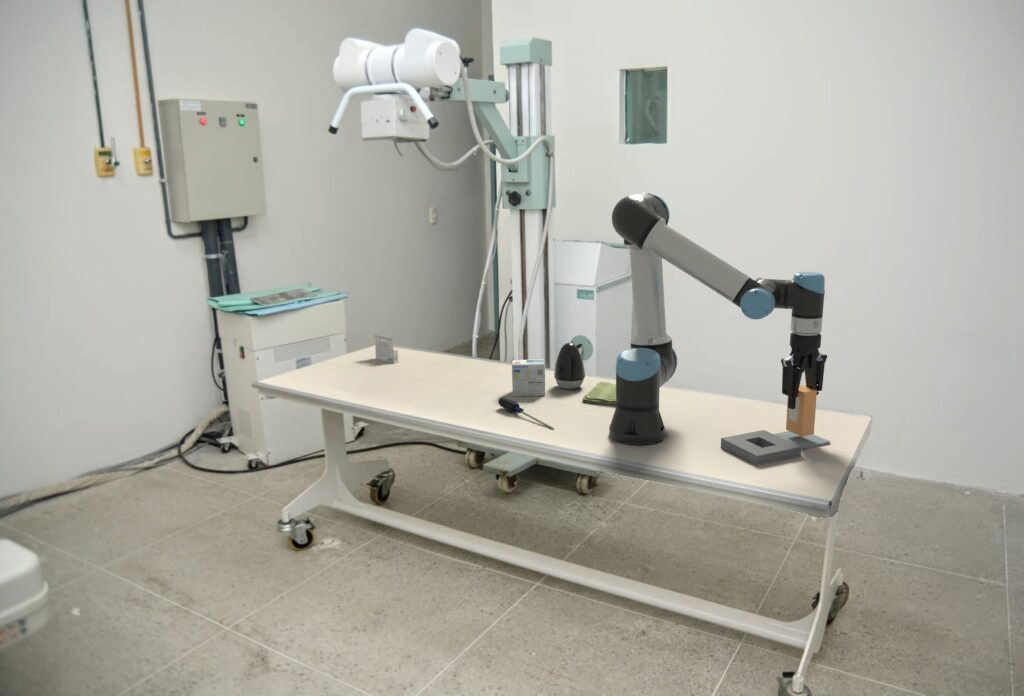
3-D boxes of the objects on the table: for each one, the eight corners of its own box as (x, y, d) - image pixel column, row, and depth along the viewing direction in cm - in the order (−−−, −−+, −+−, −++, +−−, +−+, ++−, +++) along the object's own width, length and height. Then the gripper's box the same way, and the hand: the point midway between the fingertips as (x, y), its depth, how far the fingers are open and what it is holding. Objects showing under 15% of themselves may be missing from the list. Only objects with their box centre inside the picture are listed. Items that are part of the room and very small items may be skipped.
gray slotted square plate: (756, 465, 194) (756, 455, 194) (720, 447, 207) (721, 438, 206) (800, 456, 199) (801, 446, 199) (763, 438, 212) (763, 429, 211)
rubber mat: (797, 450, 203) (797, 448, 203) (768, 437, 213) (768, 434, 213) (830, 443, 208) (830, 441, 207) (800, 430, 217) (800, 428, 217)
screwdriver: (559, 428, 224) (559, 416, 223) (549, 431, 222) (548, 418, 221) (506, 406, 244) (505, 395, 244) (496, 409, 242) (496, 397, 241)
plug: (802, 436, 206) (804, 392, 203) (785, 429, 212) (788, 386, 209) (813, 434, 208) (816, 390, 205) (797, 427, 213) (800, 384, 210)
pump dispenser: (591, 387, 262) (591, 343, 258) (567, 393, 256) (567, 348, 253) (572, 381, 270) (572, 337, 266) (548, 386, 264) (547, 342, 261)
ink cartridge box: (380, 358, 308) (378, 333, 305) (398, 362, 300) (397, 337, 298) (375, 359, 306) (373, 334, 304) (393, 363, 299) (392, 338, 296)
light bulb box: (545, 390, 261) (544, 358, 258) (545, 396, 254) (545, 363, 251) (512, 390, 261) (512, 359, 258) (512, 396, 254) (511, 364, 252)
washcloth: (580, 404, 246) (580, 394, 246) (598, 389, 262) (598, 379, 261) (621, 408, 241) (621, 398, 240) (636, 392, 257) (636, 383, 256)
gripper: (790, 339, 197) (784, 427, 202) (842, 331, 203) (835, 418, 209) (769, 333, 204) (764, 419, 209) (820, 326, 210) (814, 410, 215)
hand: (800, 418), depth 209 cm, fingers closed on plug, 4 cm apart
